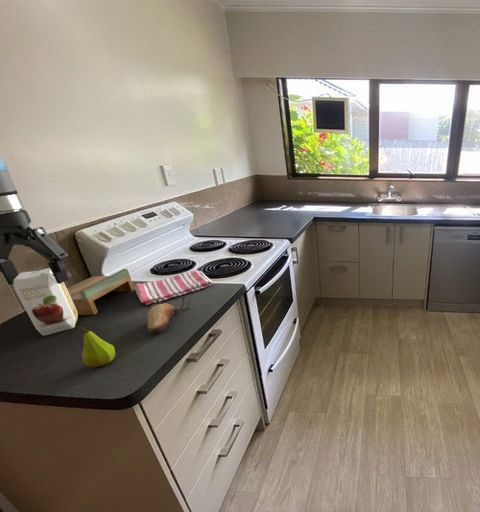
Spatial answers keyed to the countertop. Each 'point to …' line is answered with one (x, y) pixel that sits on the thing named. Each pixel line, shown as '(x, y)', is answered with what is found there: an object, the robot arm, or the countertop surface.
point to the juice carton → (46, 301)
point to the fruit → (96, 350)
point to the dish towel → (171, 287)
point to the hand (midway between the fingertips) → (39, 282)
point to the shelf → (98, 290)
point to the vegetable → (161, 316)
